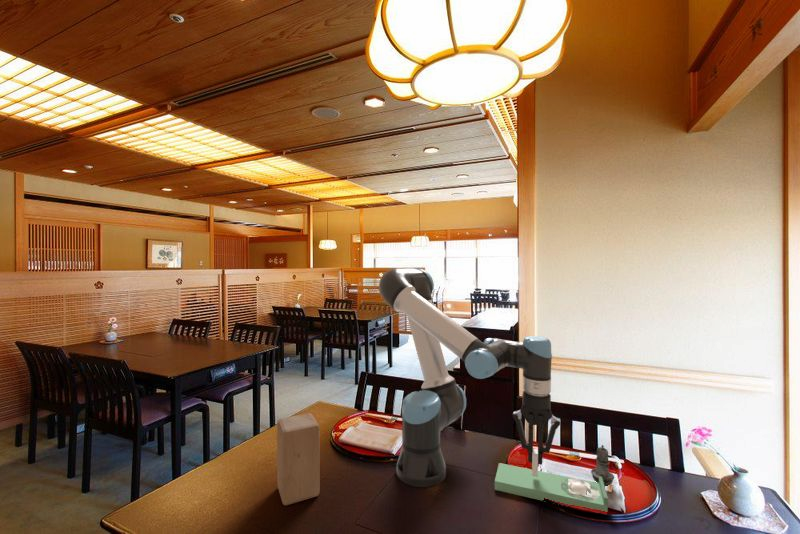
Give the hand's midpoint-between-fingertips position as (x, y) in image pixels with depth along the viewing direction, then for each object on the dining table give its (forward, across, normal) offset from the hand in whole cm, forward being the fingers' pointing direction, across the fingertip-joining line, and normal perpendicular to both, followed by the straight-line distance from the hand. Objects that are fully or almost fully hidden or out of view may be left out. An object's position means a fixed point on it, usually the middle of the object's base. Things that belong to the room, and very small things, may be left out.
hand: (534, 473), depth 103 cm
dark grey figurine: (+4, +18, +8) cm, 20 cm away
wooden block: (+5, -62, -27) cm, 67 cm away
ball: (+2, +11, 0) cm, 11 cm away
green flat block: (+4, +4, 0) cm, 5 cm away
